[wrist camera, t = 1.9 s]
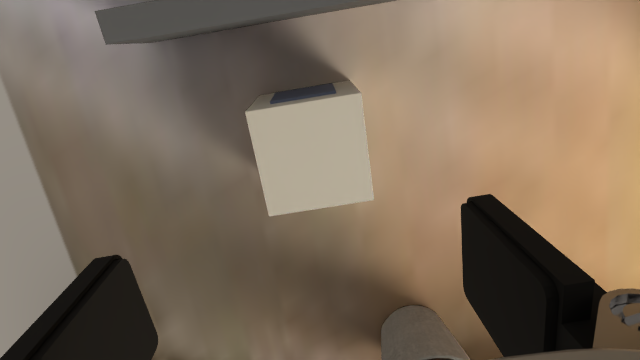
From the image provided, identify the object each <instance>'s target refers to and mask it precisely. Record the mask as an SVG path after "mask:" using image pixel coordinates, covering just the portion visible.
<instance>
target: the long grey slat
mask: <svg viewBox="0 0 640 360" xmlns="http://www.w3.org/2000/svg"><path fill="white" fill-rule="evenodd" d="M390 1H395V0H155V1H150V2H144V3H138V4H133V5H127V6H121V7H116V8H110V9H104V10H99V11H95V14H96V17H97V19H98V22H99V25H100V28H101V31H102V34H103V37H104V40H105V43H106V44H132V43H152V42H158V41H164V40H169V39H175V38H181V37H187V36H193V35H198V34H204V33H210V32H216V31H222V30H227V29H233V28H239V27H245V26H251V25H256V24H262V23H268V22H274V21H280V20H285V19H291V18H297V17H303V16H308V15H314V14H320V13H326V12H332V11H337V10H343V9H349V8H355V7H361V6H366V5H372V4H378V3H384V2H390Z"/></svg>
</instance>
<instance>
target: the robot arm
mask: <svg viewBox="0 0 640 360" xmlns="http://www.w3.org/2000/svg"><path fill="white" fill-rule="evenodd" d="M461 229H462V261H463V287H464V292H465V295H466V297H467V299H468V301H469V302H470V304H471V306H472V307H473V309H474V310H475V312H476V313H477V315H478V317H479V318H480V320H481V321H482V323H483V325H484V326H485V328H486V329H487V331H488V332H489V334H490V336H491V337H492V339H493V340H494V342H495V344H496V345H497V347H498V348H499V350H500V352H501V353H502V355H503V356H504V357H501V358H494V359H488V360H640V290H639V289H617V290H613V291H609V292H608V293H607V292H606V291H605V290H603V289H602V288H601V287H600V286H599V285H597V284H596V283H595V280H594V279H593V278H591V277H590V276H589V275H588V274H587V273H585V272H584V271H583V270H582V269H581V268H579V267H578V266H577V265H576V264H574V263H573V262H572V261H571V260H570V259H568V258H567V257H566V256H565V255H564V254H562V253H561V252H560V251H559V250H558V249H556V248H555V247H554V246H553V245H552V244H550V243H549V242H548V241H547V240H546V239H544V238H543V237H542V236H541V235H540V234H538V233H537V232H536V231H535V230H534V229H532V228H531V227H530V226H529V225H528V224H526V223H525V222H524V221H523V220H521V219H520V218H519V217H518V216H517V215H515V214H514V213H513V212H512V211H511V210H509V209H508V208H507V207H506V206H505V205H503V204H502V203H501V202H500V201H499V200H497V199H496V198H495V197H494V196H493V195H491V194H487V195H481V196H475V197H469V198H468V199H467V203H464V204H462V205H461ZM157 345H158V335H157V332H156V329H155V327H154V324H153V322H152V319H151V317H150V314H149V312H148V309H147V307H146V304H145V302H144V299H143V296H142V294H141V291H140V289H139V286H138V284H137V281H136V279H135V276H134V274H133V271H132V269H131V266H130V264H129V262H128V261H127V260H126V259H122V258H121V257H120V256H119V255H113V256H107V257H101V258H95V259H94V260H93V261H92V262H91V263H90V264H89V265H88V266H87V267H86V268H85V269H84V270H83V271H82V272H81V273H80V274H79V276H78V277H77V278H76V279H75V280H74V281H73V282H72V283H71V284H70V285H69V286H68V287H67V288H66V289H65V291H63V292H62V294H61V295H60V296H59V297H58V298H57V299H56V300H55V301H54V302H53V303H52V304H51V305H50V306H49V307H48V308H47V309H46V311H45V312H44V313H43V314H42V315H41V316H40V317H39V318H38V319H37V320H36V321H35V322H34V323H33V324H32V325H31V326H30V327H29V329H28V330H27V331H26V332H25V333H24V334H23V335H22V336H21V337H20V338H19V339H18V340H17V341H16V342H15V343H14V344H13V346H12V347H11V348H10V349H9V350H8V351H7V352H6V353H5V354H4V355H3V356H2V357H1V358H0V360H151V359H152V357H153V355H154V353H155V351H156V348H157Z"/></svg>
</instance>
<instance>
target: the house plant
mask: <svg viewBox="0 0 640 360" xmlns="http://www.w3.org/2000/svg"><path fill="white" fill-rule="evenodd" d="M381 352H382V360H471V359H470V358H469V356H468V355H467V354H466V352H465V351H464V350H463V348H462V347H461V346H460V344H459V343H458V342H457V340H456V339H455V338H454V336H453V335H452V334H451V332H450V331H449V330H448V328H447V327H446V326H445V324H444V323H443V322H442V320H441V319H440V318H439V316H438V315H437V314H436V313H435V312H434V311H432V310H431V309H429V308H427V307H423V306H416V305H411V306H405V307H402V308H400V309H397V310H396V311H395V312H393V313H392V314H391V315H390V316H389V317H388V318H387V319H386V320H385V322H384V324H383V325H382V329H381Z"/></svg>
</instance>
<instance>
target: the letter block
mask: <svg viewBox="0 0 640 360" xmlns="http://www.w3.org/2000/svg"><path fill="white" fill-rule="evenodd" d="M245 114H246V118H247V123H248V127H249V131H250V136H251V140H252V144H253V149H254V153H255V157H256V162H257V166H258V170H259V175H260V179H261V183H262V188H263V192H264V196H265V201H266V205H267V210H268V214H269V216H275V215H282V214H288V213H294V212H301V211H307V210H313V209H320V208H326V207H333V206H339V205H345V204H352V203H358V202H365V201H371V200H374V195H373V187H372V178H371V170H370V162H369V153H368V145H367V137H366V128H365V120H364V112H363V103H362V95H361V92H360V91H359V90H358V89H357V88H356V87H355V85H354V84H353V83H352V82H351V81H350V80H349V81H343V82H337V83H329V84H323V85H317V86H311V87H305V88H299V89H293V90H287V91H281V92H275V93H271V94H265V95H259V96H258V98H257V99H256V100H255V101H254V102H253V103H252V105H251V106H250V107H249V108H248V109H247V110H246V112H245Z"/></svg>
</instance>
